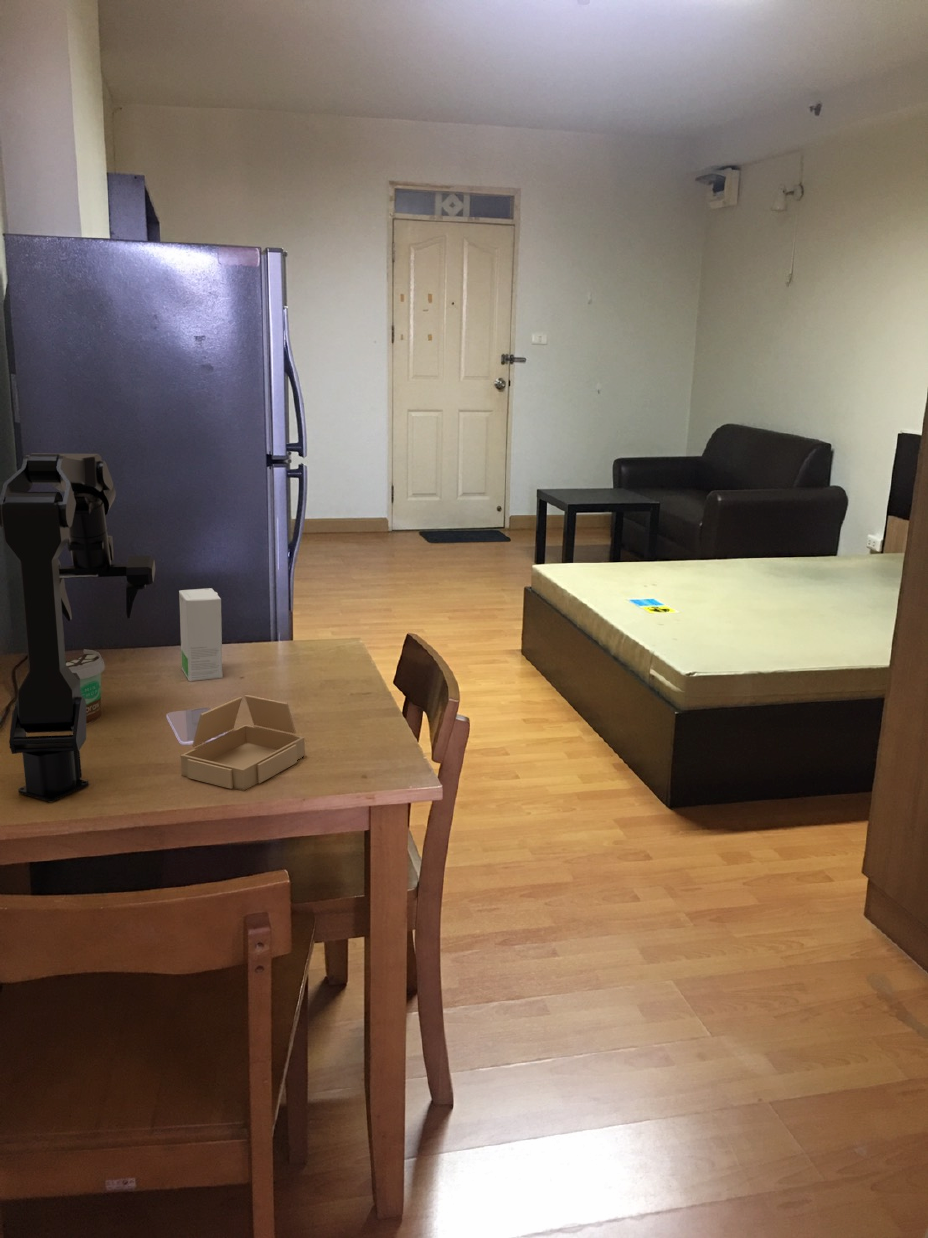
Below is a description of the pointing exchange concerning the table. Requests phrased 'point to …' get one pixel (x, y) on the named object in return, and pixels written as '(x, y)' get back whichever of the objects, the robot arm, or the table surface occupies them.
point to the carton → (243, 757)
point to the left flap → (216, 721)
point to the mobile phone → (186, 724)
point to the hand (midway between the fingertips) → (99, 618)
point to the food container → (89, 681)
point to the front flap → (270, 714)
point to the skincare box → (201, 634)
